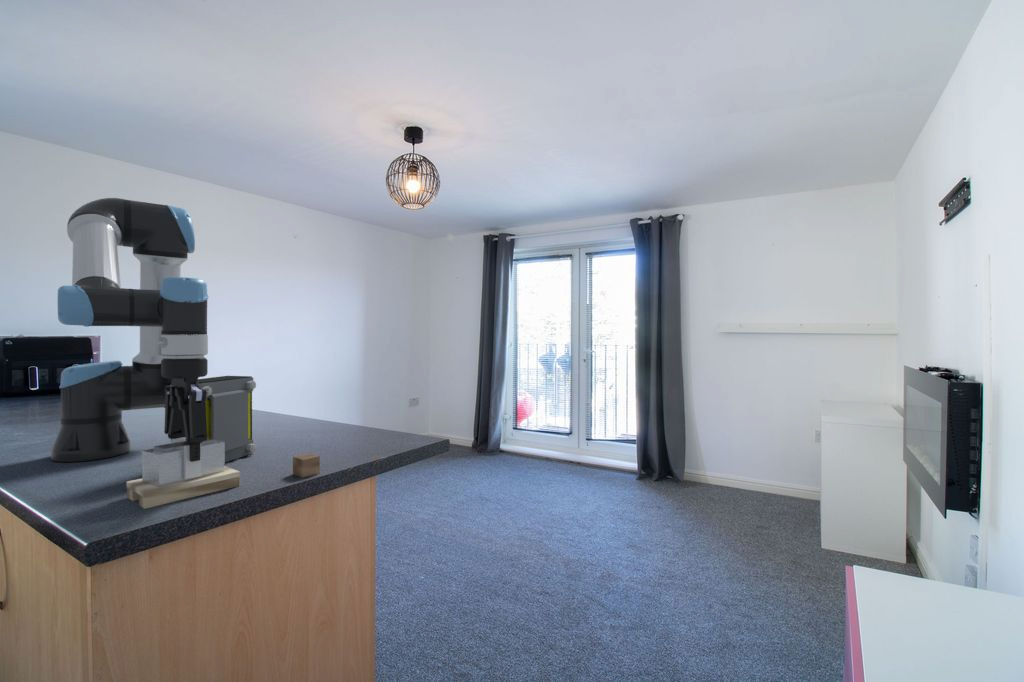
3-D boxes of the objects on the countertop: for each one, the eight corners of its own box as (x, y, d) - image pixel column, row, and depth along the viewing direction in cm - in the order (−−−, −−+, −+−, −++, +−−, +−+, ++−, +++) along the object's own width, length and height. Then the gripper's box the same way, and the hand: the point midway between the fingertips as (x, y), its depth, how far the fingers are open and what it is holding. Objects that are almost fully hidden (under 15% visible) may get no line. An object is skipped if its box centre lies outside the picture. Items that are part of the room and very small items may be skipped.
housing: (207, 466, 101) (207, 435, 101) (224, 470, 98) (224, 438, 98) (142, 482, 90) (141, 447, 90) (159, 487, 88) (158, 451, 87)
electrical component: (202, 473, 106) (202, 383, 106) (164, 470, 108) (164, 382, 108) (259, 454, 124) (259, 376, 123) (225, 451, 126) (225, 375, 125)
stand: (126, 497, 91) (126, 481, 91) (218, 477, 104) (218, 463, 104) (145, 509, 85) (145, 492, 85) (239, 486, 98) (239, 471, 98)
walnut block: (292, 474, 106) (292, 456, 106) (309, 470, 110) (309, 453, 110) (302, 478, 104) (302, 459, 104) (319, 473, 107) (319, 455, 107)
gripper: (144, 355, 97) (144, 469, 97) (182, 359, 85) (183, 488, 85) (186, 354, 103) (186, 461, 103) (227, 358, 91) (228, 478, 92)
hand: (185, 473), depth 94 cm, fingers closed on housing, 6 cm apart
